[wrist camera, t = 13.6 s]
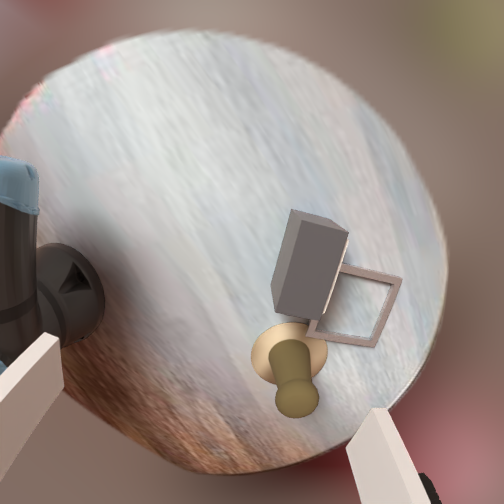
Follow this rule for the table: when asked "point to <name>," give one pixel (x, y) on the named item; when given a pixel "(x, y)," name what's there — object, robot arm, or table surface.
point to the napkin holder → (307, 265)
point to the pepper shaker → (293, 378)
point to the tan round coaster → (279, 334)
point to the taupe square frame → (382, 317)
